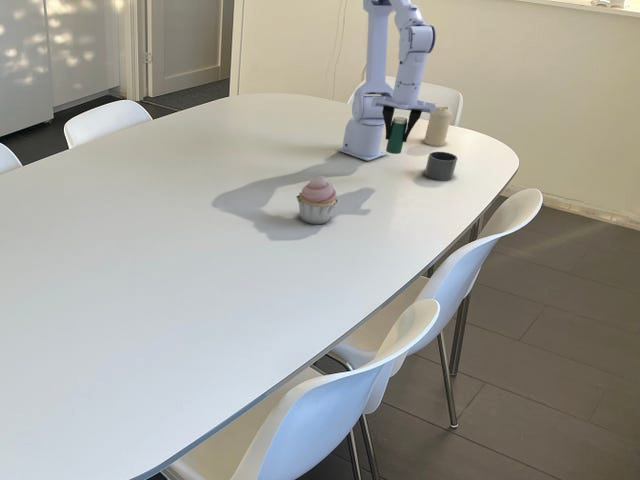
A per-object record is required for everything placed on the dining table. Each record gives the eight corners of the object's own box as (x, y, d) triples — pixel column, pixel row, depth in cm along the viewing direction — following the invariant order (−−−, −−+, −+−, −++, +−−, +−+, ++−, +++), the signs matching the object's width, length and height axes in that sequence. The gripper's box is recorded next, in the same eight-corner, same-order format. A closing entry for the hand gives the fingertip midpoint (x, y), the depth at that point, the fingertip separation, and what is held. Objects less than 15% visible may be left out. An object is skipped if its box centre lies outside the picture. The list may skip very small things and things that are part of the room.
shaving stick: (382, 150, 180) (389, 118, 175) (391, 147, 182) (398, 115, 177) (395, 154, 177) (402, 121, 173) (404, 151, 179) (411, 119, 175)
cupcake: (343, 218, 164) (351, 176, 158) (320, 231, 158) (328, 187, 153) (308, 206, 169) (315, 164, 163) (285, 218, 164) (291, 175, 158)
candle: (441, 140, 209) (450, 104, 204) (446, 146, 205) (455, 110, 199) (422, 138, 210) (430, 103, 204) (426, 145, 205) (434, 109, 199)
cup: (419, 174, 187) (423, 155, 184) (434, 168, 191) (439, 149, 188) (442, 182, 183) (447, 163, 180) (457, 176, 187) (462, 157, 184)
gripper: (374, 82, 169) (363, 140, 177) (439, 90, 165) (425, 149, 173) (378, 75, 174) (367, 131, 182) (441, 82, 170) (427, 139, 178)
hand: (395, 139), depth 178 cm, fingers closed on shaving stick, 3 cm apart
